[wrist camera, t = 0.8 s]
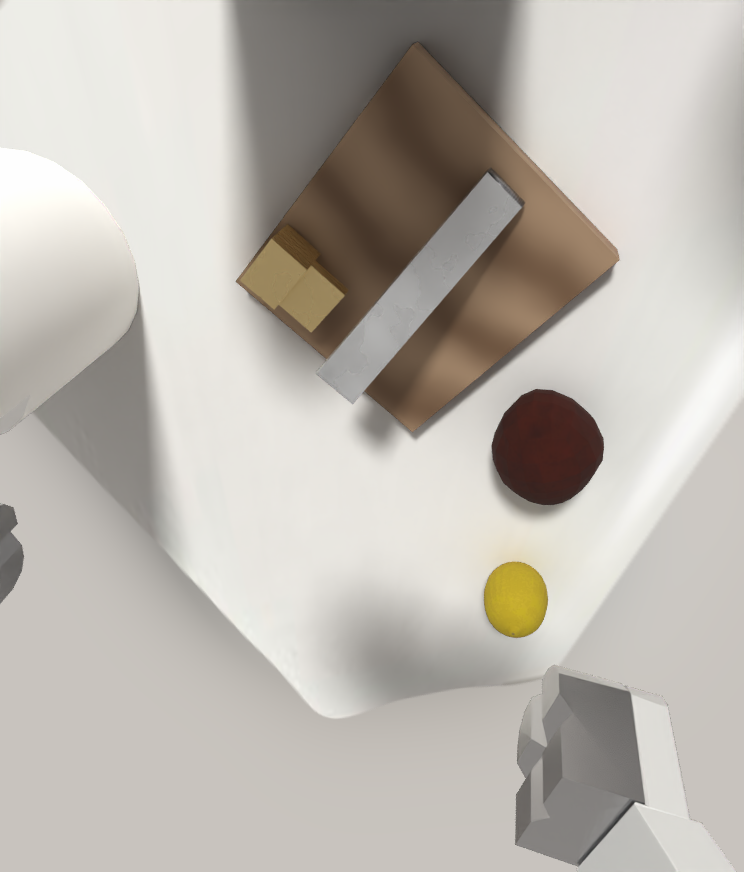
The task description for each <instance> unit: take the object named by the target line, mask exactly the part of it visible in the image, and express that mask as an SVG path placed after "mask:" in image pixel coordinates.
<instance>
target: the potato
mask: <svg viewBox="0 0 744 872" xmlns="http://www.w3.org/2000/svg"><path fill="white" fill-rule="evenodd" d="M603 451H604V441H603V437H602V435H601V433H600V430H599V428H598V426H597V424H596V422H595V420H594V419H593V417H592V416H591V415H590V414H589V413H588V412H587V411H586V410H585V409H584V408H582V407H581V406H580V405H579V404H578V403H577V402H576V401H574V400H573V399H572V398H569V397H567V396H565V395H562V394H560V393H558V392H555V391H553V390H541V389H535V390H533V391H530V392H528V393H526V394H524V395H521V396H520V397H519V399H518V400H517V401H516V402H515V403H514V404H513V405H512V406H511V407H510V408H509V409H508V410H507V411H506V412H505V413H504V415H503V417H502V419H501V421H500V423H499V425H498V428H497V430H496V432H495V435H494V438H493V442H492V454H493V461H494V464H495V466H496V469H497V471H498V473H499V475H500V477H501V479H502V481H503V483H504V484H505V485H507V486H508V487H509V488H510V489H511V490H512V491H513V492H515V493H516V494H518V495H519V496H521V497H523V498H524V499H526V500H528V501H530V502H533V503H537V504H542V505H555V504H559V503H563V502H565V501H567V500H569V499H571V498H572V497H574V496H575V495H576V494H577V493H579V492H580V491H581V490H582V489H583V488H584V487H585V486H586V485H587V484H588V482H589V481H590V480H591V478H592V477H593V475H594V474H595V472H596V470H597V469H598V467H599V465H600V464H601V462H602V460H603Z"/></svg>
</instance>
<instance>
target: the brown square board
mask: <svg viewBox="0 0 744 872" xmlns="http://www.w3.org/2000/svg"><path fill="white" fill-rule="evenodd" d="M490 167H491V168H492V169H493V170H494V171H495V172H496V173H497V174H498V175H499V176H500V177H501V178H502V179H503V180H504V181H505V182H506V183H507V184H508V185H509V186H510V187H511V188H512V189H513V190H514V191H515V192H516V193H517V194H518V195H519V196H520V197H521V198H522V199H523V200H524V201H525V204H524V205H523V207H522V208H521V209H520V210H519V211H518V213H517V214H516V215H515V216H514V217H513V218H512V220H511V221H510V222H509V223H508V224H507V225H506V227H505V228H504V229H503V230H502V231H501V232H500V233H499V235H498V236H497V237H496V238H495V239H494V240H493V242H492V243H491V244H490V245H489V246H488V247H487V249H486V250H485V251H484V252H483V253H482V254H481V256H480V257H479V258H478V259H477V260H476V261H475V263H474V264H473V265H472V266H471V267H470V268H469V270H468V271H467V272H466V273H465V274H464V275H463V277H462V278H461V279H460V280H459V281H458V282H457V283H456V285H455V286H454V287H453V288H452V289H451V290H450V292H449V293H448V294H447V295H446V296H445V297H444V299H443V300H442V301H441V302H440V303H439V304H438V306H437V307H436V308H435V309H434V310H433V311H432V313H431V314H430V315H429V316H428V317H427V318H426V320H425V321H424V322H423V323H422V324H421V325H420V327H419V328H418V329H417V330H416V331H415V332H414V333H413V335H412V336H411V337H410V338H409V339H408V340H407V342H406V343H405V344H404V345H403V346H402V347H401V349H400V350H399V351H398V352H397V353H396V354H395V356H394V357H393V358H392V359H391V360H390V361H389V363H388V364H387V365H386V366H385V367H384V368H383V370H382V371H381V372H380V373H379V374H378V375H377V377H376V378H375V379H374V380H373V381H372V382H371V383H370V385H369V386H368V387H367V388H366V389H365V390H364V391H365V392H366V393H367V394H368V395H369V396H371V397H372V398H373V399H374V400H375V401H376V402H378V403H379V404H380V405H381V406H382V407H383V408H385V409H386V410H387V411H388V412H389V413H391V414H392V415H393V416H394V417H395V418H396V419H398V420H399V421H400V422H401V423H402V424H403V425H405V426H406V427H407V428H408V429H409V430H410V431H412V432H413V431H414V430H416V429H417V428H418V427H419V426H420V425H422V424H423V423H424V422H425V421H427V420H428V419H429V418H430V417H431V416H433V415H434V414H435V413H436V412H437V411H439V410H440V409H441V408H442V407H443V406H445V405H446V404H447V403H448V402H449V401H451V400H452V399H453V398H454V397H455V396H457V395H458V394H459V393H460V392H461V391H463V390H464V389H465V388H466V387H467V386H469V385H470V384H471V383H472V382H473V381H475V380H476V379H477V378H478V377H479V376H481V375H482V374H483V373H484V372H485V371H487V370H488V369H489V368H490V367H491V366H493V365H494V364H495V363H496V362H497V361H499V360H500V359H501V358H502V357H503V356H505V355H506V354H507V353H508V352H509V351H511V350H512V349H513V348H514V347H516V346H517V345H518V344H519V343H520V342H522V341H523V340H524V339H525V338H526V337H528V336H529V335H530V334H531V333H532V332H534V331H535V330H536V329H537V328H538V327H540V326H541V325H542V324H543V323H544V322H546V321H547V320H548V319H549V318H550V317H552V316H553V315H554V314H555V313H556V312H558V311H559V310H560V309H561V308H562V307H564V306H565V305H566V304H567V303H568V302H570V301H571V300H572V299H573V298H574V297H576V296H577V295H578V294H579V293H580V292H582V291H583V290H584V289H585V288H586V287H588V286H589V285H590V284H591V283H592V282H594V281H595V280H596V279H597V278H598V277H600V276H601V275H602V274H603V273H605V272H606V271H607V270H608V269H609V268H611V267H612V266H613V265H614V264H615V263H617V262H618V261H619V260H620V259H619V255H618V251H617V249H616V248H615V247H614V246H613V245H612V244H611V242H610V241H609V240H608V239H607V238H606V237H605V236H604V235H603V234H602V233H601V232H600V231H599V230H598V229H597V228H596V227H595V226H594V225H593V224H592V223H591V222H590V221H589V220H588V218H587V217H586V216H585V215H584V214H583V213H582V212H581V211H580V210H579V209H578V208H577V207H576V206H575V205H574V204H573V203H572V202H571V201H570V200H569V199H568V198H567V197H566V196H565V195H564V193H563V192H562V191H561V190H560V189H559V188H558V187H557V186H556V185H555V184H554V183H553V182H552V181H551V180H550V179H549V178H548V177H547V176H546V175H545V174H544V173H543V172H542V171H541V169H540V168H539V167H538V166H537V165H536V164H535V163H534V162H533V161H532V160H531V159H530V158H529V157H528V156H527V155H526V154H525V153H524V152H523V151H522V150H521V149H520V148H519V147H518V145H517V144H516V143H515V142H514V141H513V140H512V139H511V138H510V137H509V136H508V135H507V134H506V133H505V132H504V131H503V130H502V129H501V128H500V127H499V126H498V125H497V124H496V123H495V121H494V120H493V119H492V118H491V117H490V116H489V115H488V114H487V113H486V112H485V111H484V110H483V109H482V108H481V107H480V106H479V105H478V104H477V103H476V102H475V101H474V100H473V99H472V98H471V96H470V95H469V94H468V93H467V92H466V91H465V90H464V89H463V88H462V87H461V86H460V85H459V84H458V83H457V82H456V81H455V80H454V79H453V78H452V77H451V76H450V75H449V74H448V72H447V71H446V70H445V69H444V68H443V67H442V66H441V65H440V64H439V63H438V62H437V61H436V60H435V59H434V58H433V57H432V56H431V55H430V54H429V53H428V52H427V51H426V50H425V48H424V47H423V46H422V45H421V44H420V43H419V42H417V43H415V44H412V46H411V47H410V48H409V50H408V51H407V52H406V54H405V55H404V56H403V58H402V59H401V60H400V62H399V63H398V64H397V66H396V67H395V68H394V70H393V71H392V73H391V74H390V75H389V77H388V78H387V79H386V81H385V82H384V83H383V85H382V86H381V87H380V89H379V90H378V91H377V93H376V94H375V95H374V97H373V98H372V99H371V101H370V102H369V103H368V105H367V106H366V107H365V109H364V110H363V111H362V113H361V114H360V115H359V117H358V118H357V119H356V121H355V122H354V123H353V125H352V126H351V127H350V129H349V130H348V132H347V133H346V134H345V136H344V137H343V138H342V140H341V141H340V142H339V144H338V145H337V146H336V148H335V149H334V150H333V152H332V153H331V154H330V156H329V157H328V158H327V160H326V161H325V162H324V164H323V165H322V166H321V168H320V169H319V170H318V172H317V173H316V174H315V176H314V177H313V178H312V180H311V181H310V182H309V184H308V185H307V186H306V188H305V189H304V191H303V192H302V193H301V195H300V196H299V197H298V199H297V200H296V201H295V203H294V204H293V205H292V207H291V208H290V209H289V211H288V212H287V213H286V215H285V216H284V217H283V219H282V220H281V221H280V223H279V224H278V225H277V227H276V228H275V229H274V231H273V232H272V233H271V235H270V236H269V237H268V239H267V240H266V241H265V243H264V244H263V245H262V247H261V248H260V249H259V251H258V252H257V254H256V255H255V256H254V258H253V259H252V260H251V262H250V263H249V264H248V266H247V267H246V268H245V270H244V271H243V272H242V274H241V275H240V276H239V278H238V279H237V280H236V282H237V283H238V284H239V285H240V286H241V287H243V288H244V289H245V290H246V291H247V292H249V293H250V294H251V295H252V296H253V297H254V298H256V299H257V300H258V301H259V302H260V303H261V304H263V305H264V306H265V307H266V308H267V309H268V310H270V311H271V312H272V313H273V314H274V315H276V316H277V317H278V318H279V319H280V320H281V321H283V322H284V323H285V324H286V325H287V326H288V327H290V328H291V329H292V330H293V331H294V332H295V333H297V334H298V335H299V336H300V337H301V338H303V339H304V340H305V341H306V342H307V343H308V344H310V345H311V346H312V347H313V348H314V349H315V350H317V351H318V352H319V353H320V354H321V355H322V356H324V357H325V358H326V359H327V358H328V357H329V356H330V355H331V354H332V352H333V351H334V350H335V349H336V348H337V346H338V345H339V344H340V343H341V342H342V341H343V339H344V338H345V337H346V336H347V335H348V333H349V332H350V331H351V330H352V329H353V328H354V326H355V325H356V324H357V323H358V322H359V321H360V319H361V318H362V317H363V316H364V315H365V313H366V312H367V311H368V310H369V309H370V308H371V306H372V305H373V304H374V303H375V302H376V301H377V299H378V298H379V297H380V296H381V295H382V293H383V292H384V291H385V290H386V289H387V288H388V286H389V285H390V284H391V283H392V282H393V280H394V279H395V278H396V277H397V276H398V275H399V273H400V272H401V271H402V270H403V269H404V268H405V266H406V265H407V264H408V263H409V262H410V260H411V259H412V258H413V257H414V256H415V255H416V253H417V252H418V251H419V250H420V249H421V247H422V246H423V245H424V244H425V243H426V242H427V240H428V239H429V238H430V237H431V236H432V235H433V233H434V232H435V231H436V230H437V229H438V227H439V226H440V225H441V224H442V223H443V222H444V220H445V219H446V218H447V217H448V216H449V215H450V213H451V212H452V211H453V210H454V209H455V207H456V206H457V205H458V204H459V203H460V202H461V200H462V199H463V198H464V197H465V196H466V194H467V193H468V192H469V191H470V190H471V189H472V187H473V186H474V185H475V184H476V183H477V182H478V180H479V179H480V178H481V177H482V176H483V174H484V173H485V172H486V171H487V170H488V169H489V168H490ZM287 224H288V225H289V226H290V227H292V228H293V229H294V230H295V231H296V232H297V233H298V234H299V235H300V236H302V237H303V238H304V239H305V240H306V241H307V242H308V243H309V244H310V245H312V246H313V247H314V248H315V249H316V250H317V251H318V252H319V253H321V254H320V256H319V257H318V258H317V259H316V261H317V262H318V263H319V264H320V265H321V266H322V267H324V268H325V269H326V270H327V271H328V272H329V273H330V274H331V275H333V276H334V277H335V278H336V279H337V280H338V281H339V282H340V283H342V284H343V285H344V286H345V287H346V288H347V289H348V292H347V293H346V295H345V296H344V297H343V298H342V299H341V300H340V302H339V303H338V304H337V305H336V306H335V307H334V308H333V309H332V310H331V312H330V313H329V314H328V315H327V316H326V317H325V318H324V319H323V320H322V321H321V323H320V324H319V325H318V326H317V327H316V328H315V329H314V330H313V331H312V333H311V332H310V331H309V330H308V329H306V328H305V327H304V326H303V325H302V324H301V323H299V322H298V321H297V320H296V319H295V318H294V317H292V316H291V315H290V314H289V313H288V312H287V311H285V310H284V309H283V308H282V307H281V306H280V305H278V306H277V307H276V308H275V309H273V308H271V307H270V306H269V305H268V304H267V303H266V302H264V301H263V300H262V299H261V298H260V297H259V296H257V295H256V294H255V293H254V292H253V291H252V290H250V289H249V288H248V287H247V286H246V285H245V284H243V283H242V282H241V281H240V280H241V278H242V277H243V276H244V274H245V273H246V272H247V270H248V269H249V268H250V266H251V265H252V264H253V262H254V261H255V260H256V258H257V257H258V256H259V254H260V253H261V252H262V250H263V249H264V248H265V246H266V245H267V244H268V242H269V241H270V240H271V238H272V237H274V236H275V235H276V234H277V233H278V232H279V231H280V230H281V229H282V228H284V227H285V226H286V225H287Z"/></svg>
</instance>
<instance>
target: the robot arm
mask: <svg viewBox="0 0 744 872" xmlns="http://www.w3.org/2000/svg"><path fill="white" fill-rule="evenodd" d="M17 524H18V523H17V519H16V515H15V512H14V508H13V507H11V506H8V505H5V504H2V503H0V603H1V602H2V601H3V600H4V599H5V598H6V596H7V595H8V594H9V593H10V592H11V591H12V589H13V588H14V586H15V584H16V582H17V580H18V578H19V576H20V573H21V571H22V566H23V559H24V555H23V549H22V545H21V544H20V542H19V541H18V540H17V539H16V538H15V536H14V535H13V534H12V533H11V532H10V531H11V530H12V529H13V528H14V527H15V526H16V525H17ZM517 752H518V753H517V764H518V765H519V767H520V769H521V771H522V773H523V774H524V776H525V778H526V779H525V781H524V783H523V785H522V786H521V788H520V789H519V791H518V792H517V794H516V835H515V838H516V839H515V845H517V846H520V847H523V848H526V849H529V850H532V851H535V852H538V853H541V854H543V855H546V856H549V857H552V858H555V859H558V860H561V861H564V862H567V863H570V864H572V865H576V866H578V868H577V872H736V870H735V869H734V868H733V866H732V865H731V863H730V862H729V861H728V859H727V858H726V856H725V855H724V854H723V852H722V851H721V849H720V848H719V846H718V845H717V843H716V842H715V841H714V839H713V838H712V836H711V835H710V834H709V832H708V831H707V829H706V828H705V827H704V825H703V824H702V823H701V822H698V821H695V820H692V819H690V815H689V810H688V805H687V800H686V795H685V790H684V785H683V780H682V775H681V770H680V764H679V759H678V755H677V749H676V744H675V739H674V734H673V729H672V724H671V720H670V714H669V709H668V704H667V703H666V701H665V699H664V698H663V696H659V695H655V694H653V693H649V692H646V691H643V690H639V689H636V688H632V687H629V686H624V685H623V684H621V683H617V682H614V681H611V680H607V679H603V678H600V677H596V676H593V675H589V674H586V673H581V672H578V671H575V670H571V669H568V668H564V667H561V666H557V665H553V666H551V667H550V668H548V670H547V672H546V673H545V675H544V677H543V679H542V694H539V695H537V696H534V697H532V698H531V700H530V702H529V704H528V706H527V708H526V710H525V712H524V716H523V719H522V724H521V727H520V731H519V740H518V750H517Z"/></svg>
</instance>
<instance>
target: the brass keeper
mask: <svg viewBox="0 0 744 872" xmlns="http://www.w3.org/2000/svg"><path fill="white" fill-rule="evenodd" d="M320 254H321V253H319V252H318V251H317V250H316V249H315V248H314V247H313V246H312V245H310V244H309V243H308V242H307V241H306V240H305V239H304V238H303V237H302V236H300V235H299V234H298V233H297V232H296V231H295V230H294V229H293V228H292V227H290V226H289V225H288V224H287V225H286V226H285V227H284V228H282V229H281V230H280V231H279V232H278V233H277V234H276V235H275V236H274V237H272V238H271V240H270V241H269V242H268V244H267V245H266V246H265V248H264V249H263V250H262V252H261V253H260V254H259V256H258V257H257V258H256V260H255V261H254V262H253V264H252V265H251V266H250V268H249V269H248V270H247V272H246V273H245V274H244V276H243V277H242V278H241V280H240V281H241V282H242V283H243V284H245V285H246V286H247V287H248V288H249V289H250V290H252V291H253V292H254V293H255V294H256V295H257V296H259V297H260V298H261V299H262V300H263V301H264V302H266V303H267V304H268V305H269V306H270V307H271V308H273V309H275V308H276V307H277V306H278V305H280V306H281V307H282V308H283V309H284V310H285V311H287V312H288V313H289V314H290V315H291V316H292V317H294V318H295V319H296V320H297V321H298V322H299V323H301V324H302V325H303V326H304V327H305V328H306V329H308V330H309V331H310V332H311V333H312V331H313V330H314V329H315V328H316V327H317V326H318V325H319V324H320V323H321V321H322V320H323V319H324V318H325V317H326V316H327V315H328V314H329V313H330V312H331V310H332V309H333V308H334V307H335V306H336V305H337V304H338V303H339V302H340V300H341V299H342V298H343V297H344V296H345V295H346V293H347V292H348V289H347V288H346V287H345V286H344V285H343V284H342V283H340V282H339V281H338V280H337V279H336V278H335V277H334V276H333V275H331V274H330V273H329V272H328V271H327V270H326V269H325V268H324V267H322V266H321V265H320V264H319V263H318V262H317V261H316V259H317V258H318V257H319V256H320Z"/></svg>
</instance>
